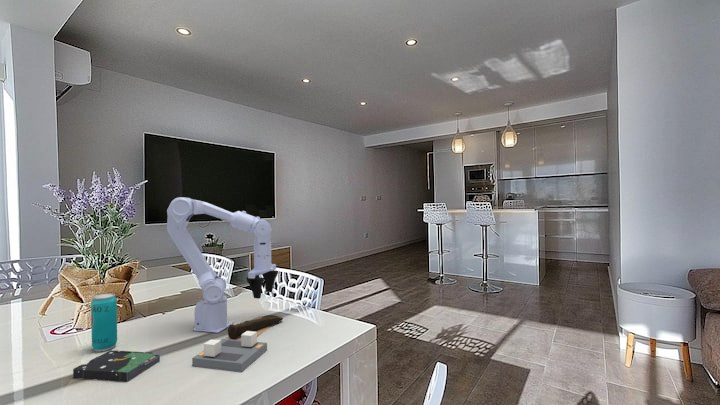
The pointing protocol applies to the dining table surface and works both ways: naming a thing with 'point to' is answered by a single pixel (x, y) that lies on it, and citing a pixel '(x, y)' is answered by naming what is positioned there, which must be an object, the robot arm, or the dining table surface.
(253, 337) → the switch tab
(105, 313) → the beverage can
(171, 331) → the dining table surface
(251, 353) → the grey flat block
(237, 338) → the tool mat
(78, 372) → the disk drive
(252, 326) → the dark brown log
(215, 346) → the white cube
